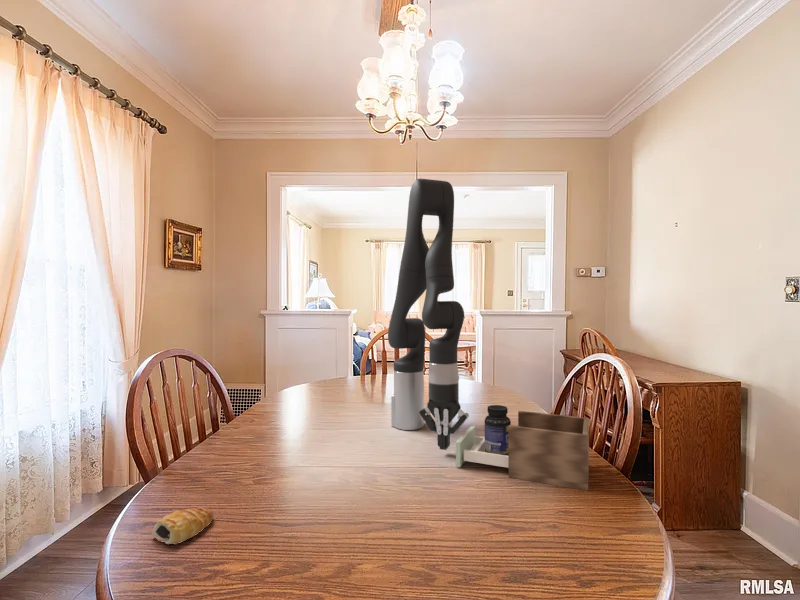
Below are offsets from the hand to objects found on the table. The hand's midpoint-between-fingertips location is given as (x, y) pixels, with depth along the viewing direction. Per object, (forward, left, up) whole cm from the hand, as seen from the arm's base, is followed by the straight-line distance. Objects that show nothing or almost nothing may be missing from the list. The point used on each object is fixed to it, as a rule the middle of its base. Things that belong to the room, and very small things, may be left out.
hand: (443, 448), depth 107 cm
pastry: (-29, -52, -2) cm, 59 cm away
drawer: (+13, 0, -1) cm, 13 cm away
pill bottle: (+13, 0, +1) cm, 14 cm away
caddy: (+25, 0, -2) cm, 25 cm away
